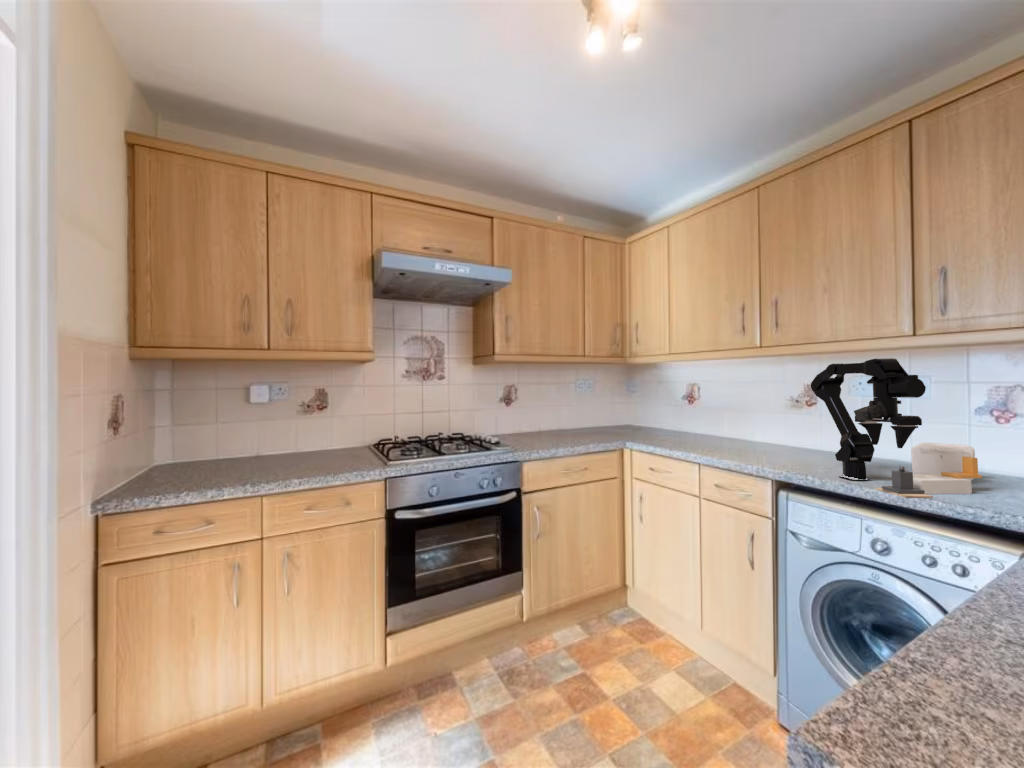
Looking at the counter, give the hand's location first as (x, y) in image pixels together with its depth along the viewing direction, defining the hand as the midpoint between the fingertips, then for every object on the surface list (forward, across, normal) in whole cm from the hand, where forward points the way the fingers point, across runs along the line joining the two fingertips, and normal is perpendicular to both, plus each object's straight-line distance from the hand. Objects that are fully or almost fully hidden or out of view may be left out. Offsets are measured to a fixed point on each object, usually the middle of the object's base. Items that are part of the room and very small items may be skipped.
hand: (887, 446), depth 132 cm
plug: (+12, +8, -2) cm, 15 cm away
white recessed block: (+13, +4, +9) cm, 16 cm away
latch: (+9, +4, +18) cm, 20 cm away
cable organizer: (+13, -13, +29) cm, 34 cm away
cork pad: (+13, +8, -2) cm, 15 cm away
